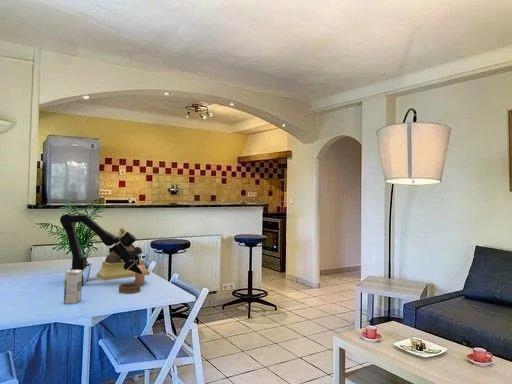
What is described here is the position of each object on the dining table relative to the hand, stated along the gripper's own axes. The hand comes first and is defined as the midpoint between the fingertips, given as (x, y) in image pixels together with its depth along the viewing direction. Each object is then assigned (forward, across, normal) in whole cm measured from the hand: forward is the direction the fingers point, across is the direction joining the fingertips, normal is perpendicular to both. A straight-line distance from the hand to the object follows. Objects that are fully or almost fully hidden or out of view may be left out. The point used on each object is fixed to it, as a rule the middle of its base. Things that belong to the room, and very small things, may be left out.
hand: (142, 272), depth 213 cm
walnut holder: (+2, -14, +8) cm, 16 cm away
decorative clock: (-6, +25, +16) cm, 30 cm away
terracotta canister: (+4, 0, +6) cm, 7 cm away
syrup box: (-14, -33, +24) cm, 42 cm away
